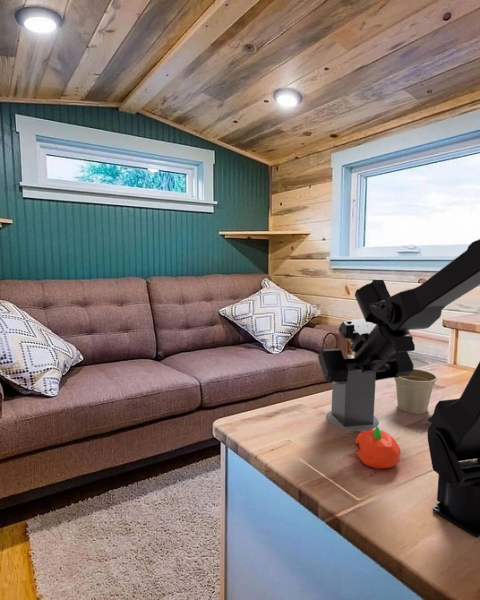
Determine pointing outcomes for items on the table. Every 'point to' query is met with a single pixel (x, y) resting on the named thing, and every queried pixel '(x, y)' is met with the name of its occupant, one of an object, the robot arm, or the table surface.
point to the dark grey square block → (354, 399)
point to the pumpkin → (377, 449)
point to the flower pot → (415, 391)
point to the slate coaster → (335, 422)
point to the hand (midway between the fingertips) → (350, 381)
